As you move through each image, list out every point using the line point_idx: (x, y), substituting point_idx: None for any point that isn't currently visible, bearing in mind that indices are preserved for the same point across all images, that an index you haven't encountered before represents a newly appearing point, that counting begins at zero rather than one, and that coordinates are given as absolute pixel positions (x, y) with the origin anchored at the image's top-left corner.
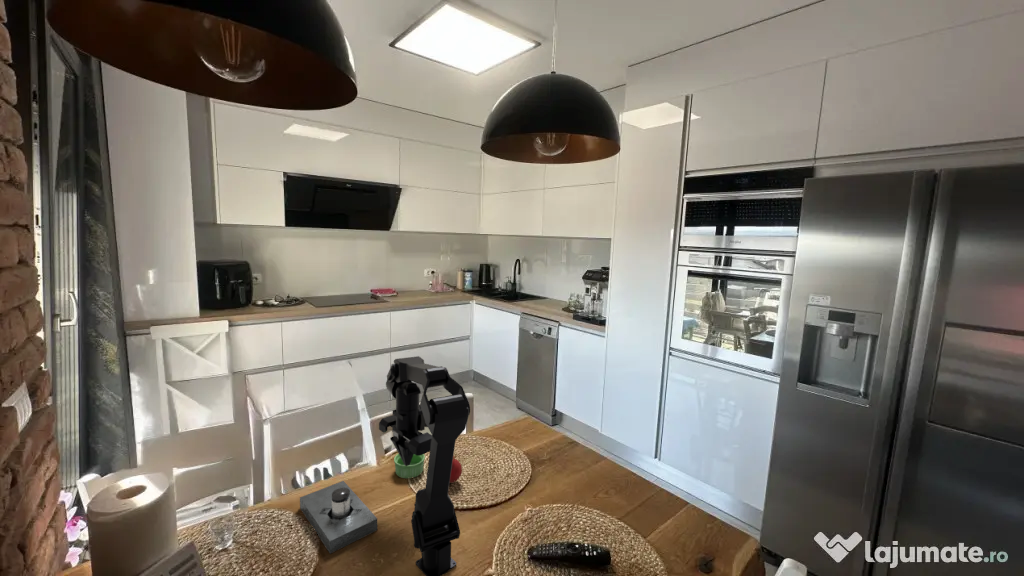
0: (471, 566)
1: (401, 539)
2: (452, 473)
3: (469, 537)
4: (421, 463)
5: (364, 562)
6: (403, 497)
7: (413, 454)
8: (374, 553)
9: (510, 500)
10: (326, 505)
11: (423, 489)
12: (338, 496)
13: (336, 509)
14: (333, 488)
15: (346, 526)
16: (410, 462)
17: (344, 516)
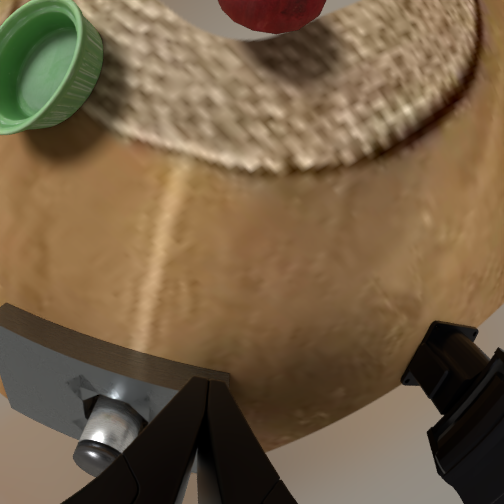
0: (496, 307)
1: (321, 358)
2: (314, 10)
3: (477, 240)
4: (86, 35)
5: (290, 433)
6: (158, 208)
7: (273, 468)
8: (291, 414)
9: (484, 41)
10: (67, 413)
11: (494, 500)
12: None
13: None
14: (7, 358)
15: None
16: (232, 396)
17: (140, 426)
